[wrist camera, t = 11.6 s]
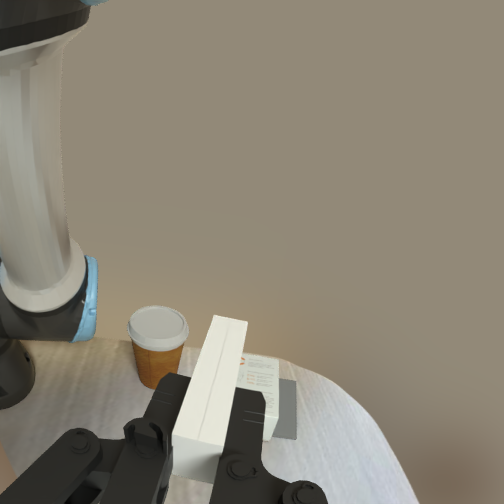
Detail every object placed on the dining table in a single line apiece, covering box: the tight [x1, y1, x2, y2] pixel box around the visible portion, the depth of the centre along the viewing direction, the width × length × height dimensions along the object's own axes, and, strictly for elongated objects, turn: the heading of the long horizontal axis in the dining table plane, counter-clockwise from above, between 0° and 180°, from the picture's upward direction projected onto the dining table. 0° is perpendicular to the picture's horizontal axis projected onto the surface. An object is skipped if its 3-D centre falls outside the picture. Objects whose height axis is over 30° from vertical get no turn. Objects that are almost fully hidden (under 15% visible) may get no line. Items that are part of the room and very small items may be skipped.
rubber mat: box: [272, 378, 297, 440], centre depth 50 cm, size 16×14×1 cm
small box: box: [236, 354, 279, 441], centre depth 47 cm, size 8×6×13 cm
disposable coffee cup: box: [127, 306, 189, 389], centre depth 49 cm, size 10×10×12 cm
